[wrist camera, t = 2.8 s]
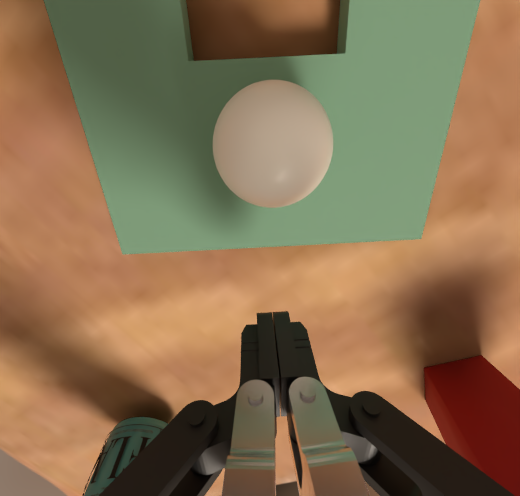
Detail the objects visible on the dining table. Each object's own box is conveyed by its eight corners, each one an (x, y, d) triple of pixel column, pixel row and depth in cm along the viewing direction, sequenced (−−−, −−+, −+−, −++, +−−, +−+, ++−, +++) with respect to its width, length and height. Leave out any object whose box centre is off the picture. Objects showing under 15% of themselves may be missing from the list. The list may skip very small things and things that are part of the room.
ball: (321, 80, 13) (357, 69, 8) (316, 187, 15) (342, 222, 11) (213, 86, 13) (193, 78, 8) (224, 192, 15) (213, 229, 11)
